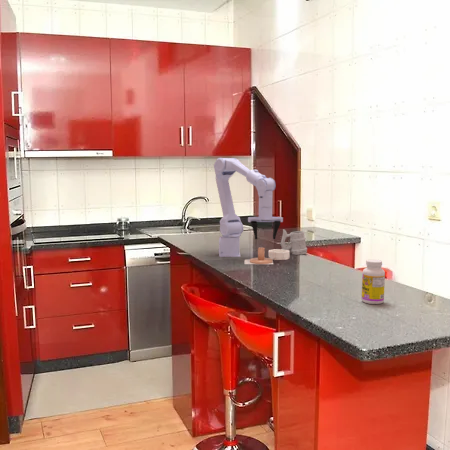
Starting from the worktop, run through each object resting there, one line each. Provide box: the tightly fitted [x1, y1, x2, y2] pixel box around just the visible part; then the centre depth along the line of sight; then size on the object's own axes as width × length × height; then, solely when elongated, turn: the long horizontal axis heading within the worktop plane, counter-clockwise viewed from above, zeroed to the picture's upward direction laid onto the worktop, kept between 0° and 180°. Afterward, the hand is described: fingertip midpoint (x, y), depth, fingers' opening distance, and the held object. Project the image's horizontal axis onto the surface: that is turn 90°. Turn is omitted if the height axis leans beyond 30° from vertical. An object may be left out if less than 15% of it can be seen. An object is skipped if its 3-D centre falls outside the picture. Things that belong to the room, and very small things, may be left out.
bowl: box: [268, 248, 291, 261], centre depth 242 cm, size 9×9×4 cm
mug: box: [280, 229, 308, 256], centre depth 253 cm, size 8×12×12 cm, turn 96°
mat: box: [244, 259, 274, 265], centre depth 233 cm, size 12×10×1 cm
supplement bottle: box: [361, 259, 386, 305], centre depth 169 cm, size 7×7×13 cm
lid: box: [249, 246, 274, 265], centre depth 232 cm, size 10×10×6 cm
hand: (265, 239), depth 233 cm, fingers open, 7 cm apart
